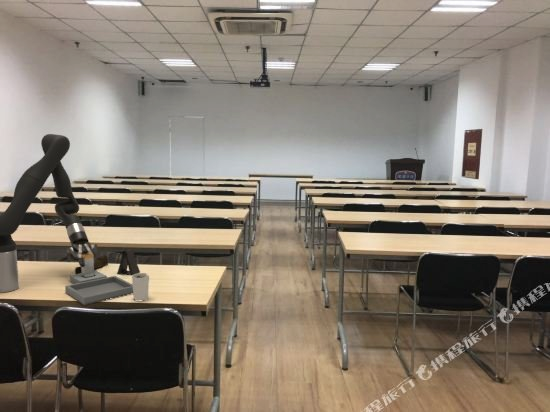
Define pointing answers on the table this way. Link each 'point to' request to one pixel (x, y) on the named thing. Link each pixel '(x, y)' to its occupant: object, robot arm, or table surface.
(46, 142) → the robot arm
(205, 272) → the table surface
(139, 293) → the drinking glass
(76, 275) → the socket block
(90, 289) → the tray
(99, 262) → the hand tool
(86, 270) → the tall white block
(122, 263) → the black a-frame stand
